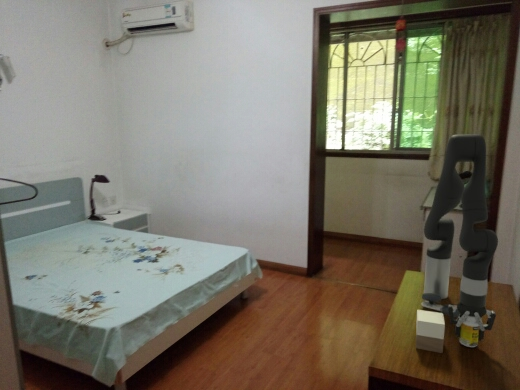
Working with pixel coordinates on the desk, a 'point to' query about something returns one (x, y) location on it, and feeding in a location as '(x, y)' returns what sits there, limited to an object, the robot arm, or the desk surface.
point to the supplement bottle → (469, 332)
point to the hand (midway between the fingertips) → (468, 337)
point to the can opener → (432, 305)
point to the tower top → (430, 324)
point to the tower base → (429, 343)
